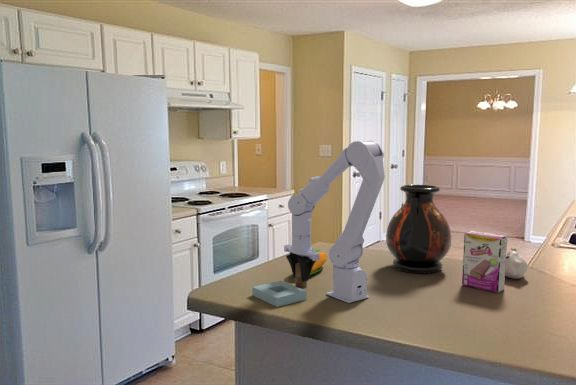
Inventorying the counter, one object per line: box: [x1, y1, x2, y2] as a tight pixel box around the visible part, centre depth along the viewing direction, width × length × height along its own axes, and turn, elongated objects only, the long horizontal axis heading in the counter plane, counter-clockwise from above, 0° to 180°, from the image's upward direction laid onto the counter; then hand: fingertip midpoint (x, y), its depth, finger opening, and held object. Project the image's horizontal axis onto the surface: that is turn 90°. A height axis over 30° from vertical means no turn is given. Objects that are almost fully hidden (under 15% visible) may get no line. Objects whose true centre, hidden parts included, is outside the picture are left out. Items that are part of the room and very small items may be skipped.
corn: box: [310, 248, 329, 276], centre depth 168 cm, size 7×8×20 cm
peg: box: [294, 263, 308, 290], centre depth 151 cm, size 3×3×7 cm
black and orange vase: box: [385, 184, 452, 274], centre depth 171 cm, size 22×22×28 cm
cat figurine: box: [505, 247, 529, 280], centre depth 162 cm, size 10×8×15 cm
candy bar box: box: [461, 230, 508, 294], centre depth 150 cm, size 11×5×16 cm, turn 47°
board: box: [251, 280, 307, 308], centre depth 142 cm, size 12×10×2 cm
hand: (301, 279), depth 152 cm, fingers closed on peg, 3 cm apart
